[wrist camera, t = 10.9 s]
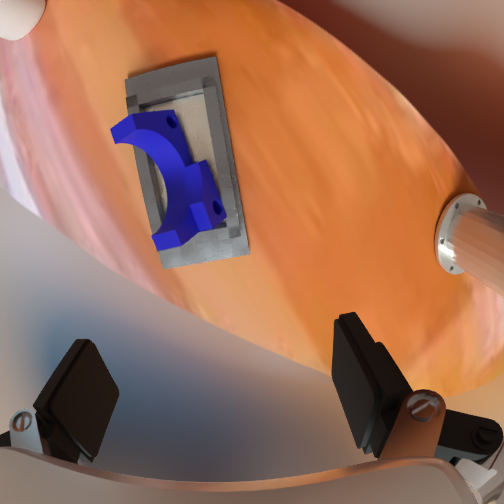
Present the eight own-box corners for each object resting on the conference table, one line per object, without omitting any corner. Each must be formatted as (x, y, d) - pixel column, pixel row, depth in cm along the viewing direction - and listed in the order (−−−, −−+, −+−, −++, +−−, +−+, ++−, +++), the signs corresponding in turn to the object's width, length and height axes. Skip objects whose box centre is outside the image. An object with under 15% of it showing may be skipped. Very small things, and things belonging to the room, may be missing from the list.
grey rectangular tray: (216, 59, 25) (215, 50, 22) (249, 251, 32) (251, 260, 29) (127, 81, 24) (118, 75, 22) (165, 265, 32) (159, 276, 29)
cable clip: (227, 216, 28) (195, 243, 23) (192, 225, 30) (158, 250, 25) (185, 103, 23) (143, 105, 19) (152, 121, 25) (110, 129, 21)
